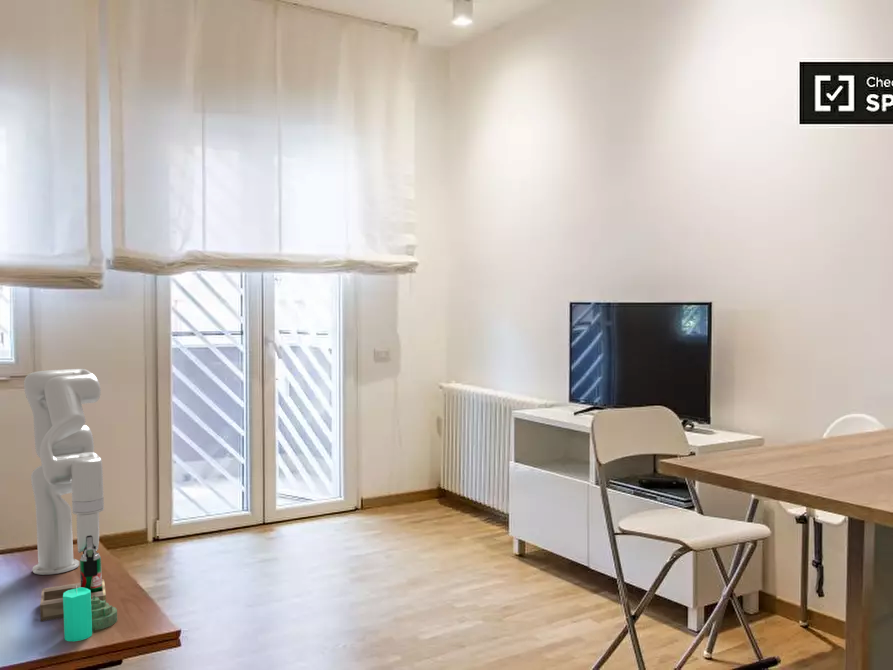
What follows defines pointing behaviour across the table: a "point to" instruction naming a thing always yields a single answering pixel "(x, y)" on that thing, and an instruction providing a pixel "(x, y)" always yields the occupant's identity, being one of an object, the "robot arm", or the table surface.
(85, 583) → the soda can
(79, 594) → the candle
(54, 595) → the open cardboard box
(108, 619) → the decorative artifact
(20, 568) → the table surface
